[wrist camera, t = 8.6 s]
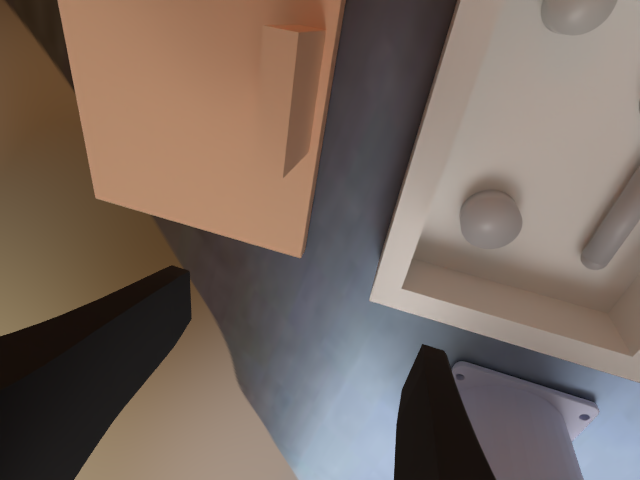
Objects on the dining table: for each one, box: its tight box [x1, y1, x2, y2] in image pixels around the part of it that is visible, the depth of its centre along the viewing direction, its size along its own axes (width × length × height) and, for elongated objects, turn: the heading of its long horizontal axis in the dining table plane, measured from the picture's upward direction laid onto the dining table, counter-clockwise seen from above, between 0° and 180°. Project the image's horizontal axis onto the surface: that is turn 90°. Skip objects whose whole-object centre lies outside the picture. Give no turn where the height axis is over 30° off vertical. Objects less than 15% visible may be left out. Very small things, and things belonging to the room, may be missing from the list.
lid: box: [58, 0, 346, 258], centre depth 16 cm, size 17×13×5 cm
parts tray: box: [369, 0, 640, 383], centre depth 14 cm, size 16×12×4 cm
